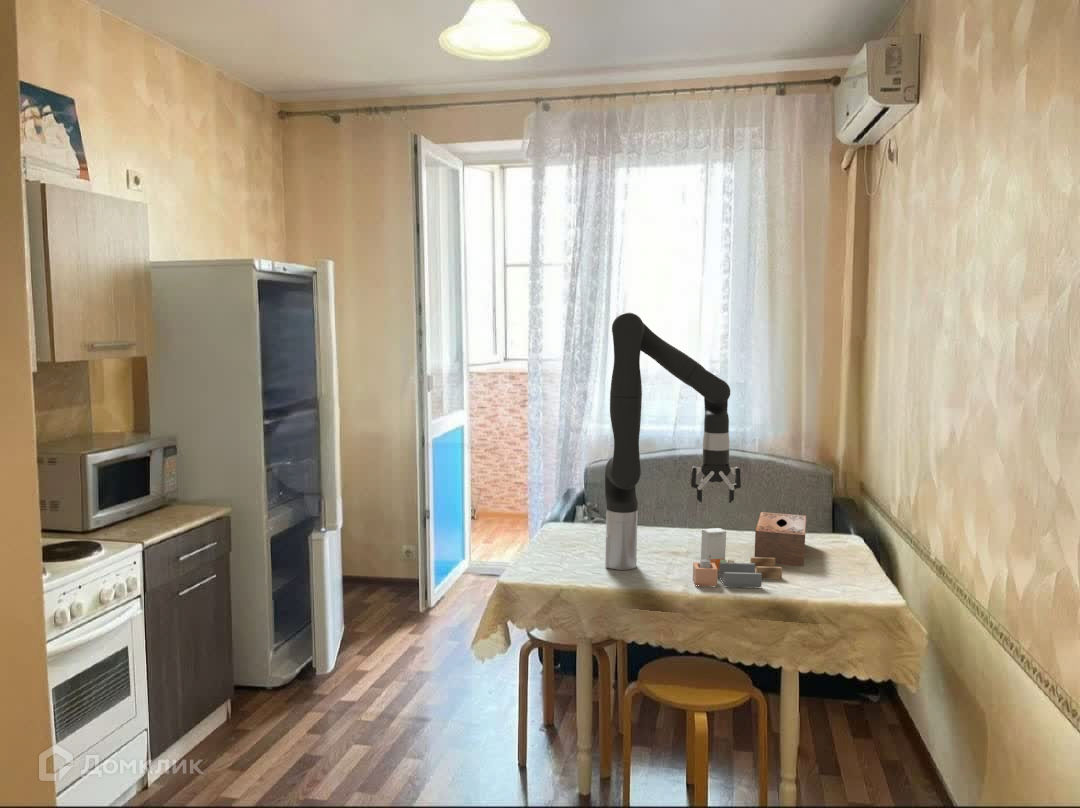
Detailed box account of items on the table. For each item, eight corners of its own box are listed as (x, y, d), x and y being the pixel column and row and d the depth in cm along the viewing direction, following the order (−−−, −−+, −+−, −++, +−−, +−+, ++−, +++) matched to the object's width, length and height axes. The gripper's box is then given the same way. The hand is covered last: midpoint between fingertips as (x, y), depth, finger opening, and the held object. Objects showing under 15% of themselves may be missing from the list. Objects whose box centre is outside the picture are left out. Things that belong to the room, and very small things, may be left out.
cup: (695, 586, 229) (695, 563, 228) (692, 579, 235) (693, 557, 234) (717, 586, 229) (717, 564, 228) (713, 580, 235) (714, 558, 234)
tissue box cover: (803, 567, 248) (805, 534, 247) (754, 562, 253) (755, 530, 252) (804, 545, 273) (806, 515, 272) (759, 541, 277) (760, 511, 276)
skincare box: (706, 572, 242) (707, 532, 240) (700, 568, 246) (701, 528, 244) (725, 571, 243) (726, 531, 242) (718, 566, 247) (719, 527, 246)
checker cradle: (724, 587, 228) (724, 570, 228) (718, 575, 239) (719, 559, 238) (761, 588, 228) (761, 571, 227) (754, 576, 238) (754, 560, 237)
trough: (756, 578, 237) (757, 567, 236) (750, 567, 247) (750, 556, 247) (781, 579, 236) (782, 568, 236) (774, 568, 246) (774, 557, 246)
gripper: (692, 449, 237) (691, 504, 239) (743, 449, 236) (741, 505, 238) (690, 445, 245) (689, 499, 247) (738, 445, 244) (737, 499, 245)
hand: (715, 502), depth 242 cm, fingers open, 8 cm apart
